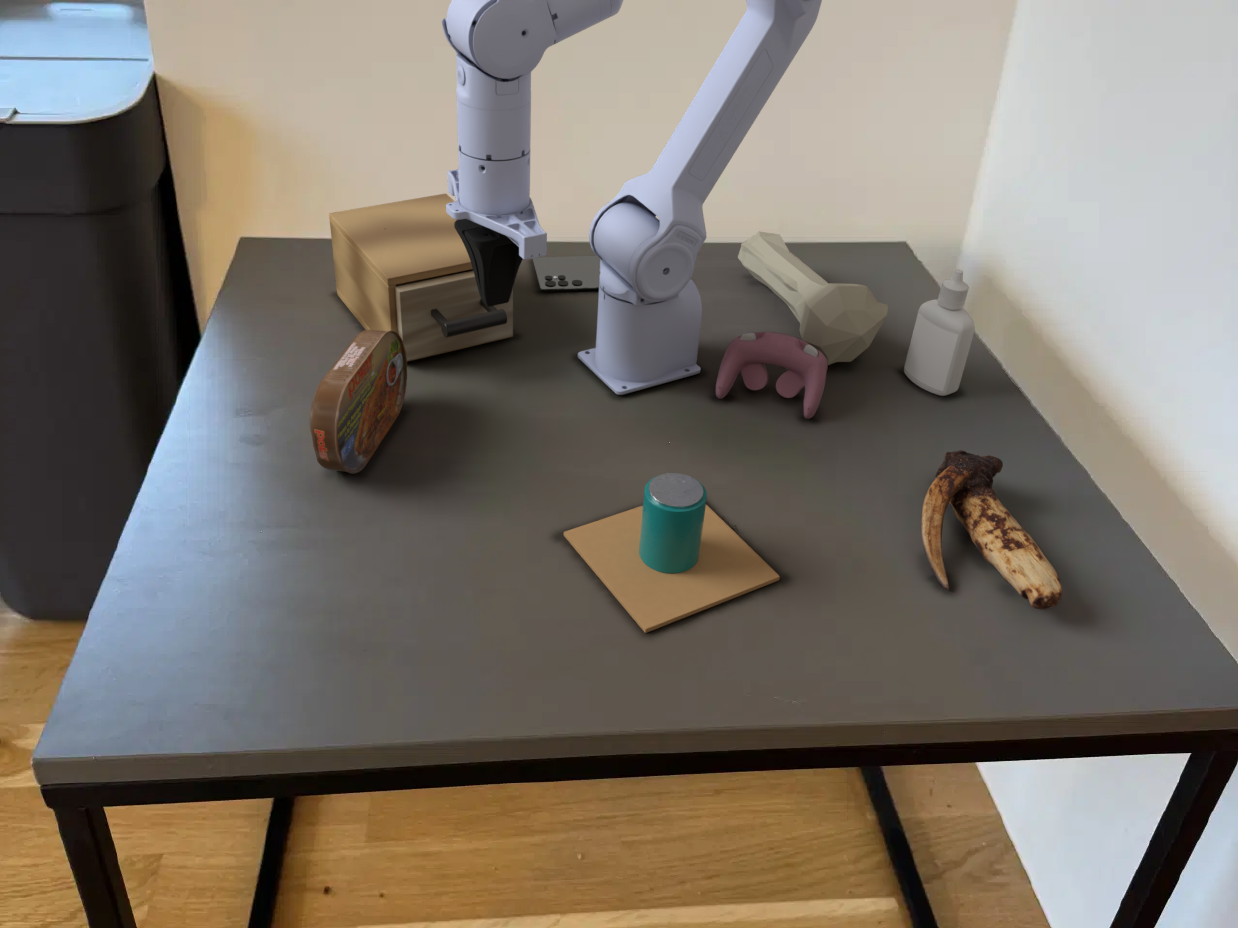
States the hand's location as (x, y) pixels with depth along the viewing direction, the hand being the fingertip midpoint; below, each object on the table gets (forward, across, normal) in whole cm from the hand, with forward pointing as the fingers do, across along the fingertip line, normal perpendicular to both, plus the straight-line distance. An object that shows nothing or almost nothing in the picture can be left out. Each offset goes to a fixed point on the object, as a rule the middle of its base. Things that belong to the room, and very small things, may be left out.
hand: (495, 301), depth 95 cm
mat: (+10, +26, +2) cm, 28 cm away
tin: (+10, +1, -13) cm, 16 cm away
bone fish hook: (+10, +36, +24) cm, 44 cm away
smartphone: (+10, -17, +22) cm, 30 cm away
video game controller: (+10, +11, +23) cm, 27 cm away
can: (+10, +26, +2) cm, 28 cm away
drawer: (+9, -13, 0) cm, 16 cm away
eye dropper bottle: (+10, +16, +39) cm, 43 cm away
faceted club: (+10, 0, +36) cm, 37 cm away
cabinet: (+10, -17, 0) cm, 20 cm away
